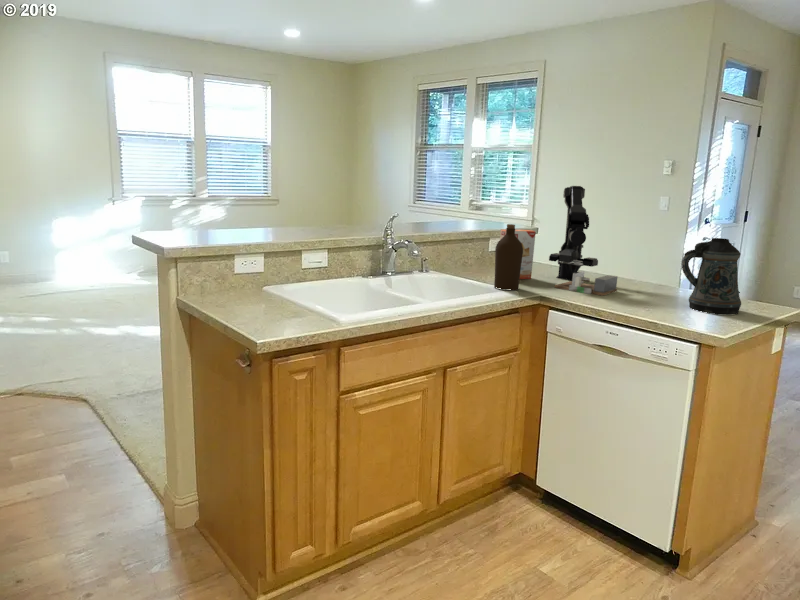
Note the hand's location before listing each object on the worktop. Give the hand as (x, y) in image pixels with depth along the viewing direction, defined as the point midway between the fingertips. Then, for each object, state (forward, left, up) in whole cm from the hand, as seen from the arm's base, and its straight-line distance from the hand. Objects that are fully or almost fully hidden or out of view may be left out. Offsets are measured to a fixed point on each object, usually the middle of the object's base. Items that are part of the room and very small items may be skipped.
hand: (571, 280), depth 246 cm
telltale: (+6, -5, -1) cm, 8 cm away
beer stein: (+52, 0, -3) cm, 52 cm away
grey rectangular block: (+14, 0, -2) cm, 14 cm away
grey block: (+5, -1, -1) cm, 5 cm away
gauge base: (+6, 0, -3) cm, 7 cm away
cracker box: (-26, -1, -3) cm, 26 cm away
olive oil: (-16, -24, -3) cm, 29 cm away
